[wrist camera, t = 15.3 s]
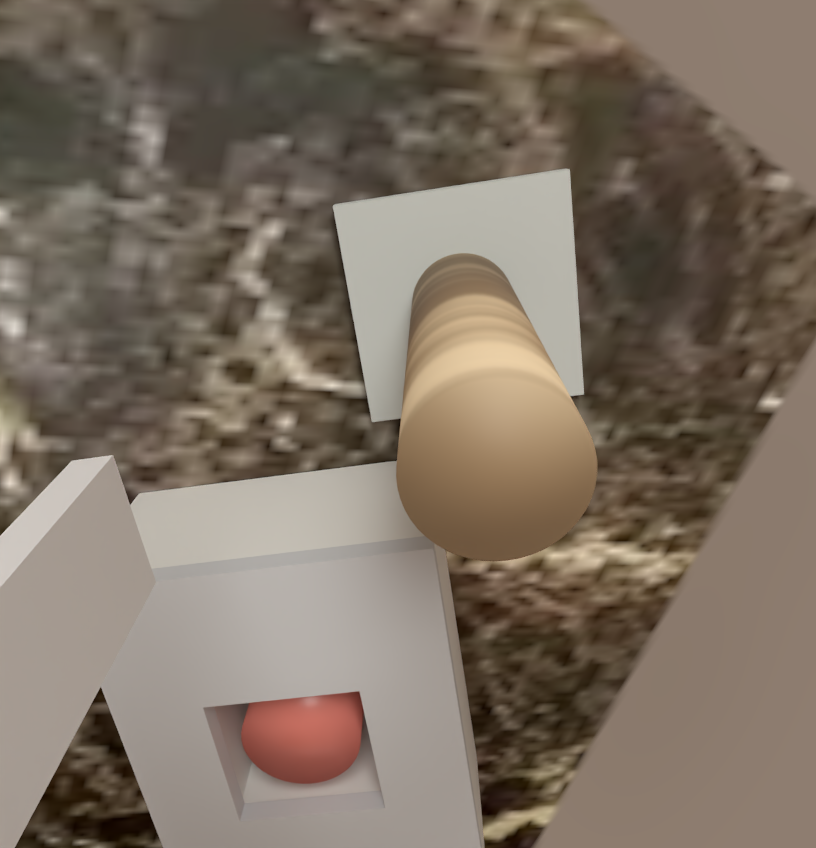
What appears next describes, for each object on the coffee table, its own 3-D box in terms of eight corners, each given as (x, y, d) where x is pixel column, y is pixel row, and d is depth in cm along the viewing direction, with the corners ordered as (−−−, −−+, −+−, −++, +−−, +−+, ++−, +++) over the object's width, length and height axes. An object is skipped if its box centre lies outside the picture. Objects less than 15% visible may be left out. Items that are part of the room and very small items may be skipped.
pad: (334, 204, 26) (332, 206, 25) (566, 168, 25) (569, 169, 25) (372, 416, 29) (371, 422, 28) (580, 388, 28) (584, 394, 28)
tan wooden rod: (404, 261, 26) (380, 394, 13) (508, 245, 26) (590, 366, 13) (420, 359, 27) (412, 571, 14) (518, 345, 27) (603, 548, 14)
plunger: (257, 613, 31) (228, 699, 27) (360, 601, 31) (348, 686, 26) (279, 694, 33) (256, 788, 28) (377, 684, 33) (369, 777, 28)
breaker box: (139, 493, 30) (64, 592, 24) (431, 456, 29) (433, 548, 23) (231, 782, 36) (191, 921, 30) (476, 758, 35) (488, 897, 29)
